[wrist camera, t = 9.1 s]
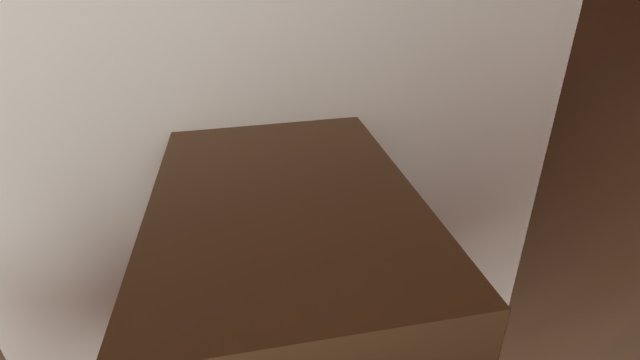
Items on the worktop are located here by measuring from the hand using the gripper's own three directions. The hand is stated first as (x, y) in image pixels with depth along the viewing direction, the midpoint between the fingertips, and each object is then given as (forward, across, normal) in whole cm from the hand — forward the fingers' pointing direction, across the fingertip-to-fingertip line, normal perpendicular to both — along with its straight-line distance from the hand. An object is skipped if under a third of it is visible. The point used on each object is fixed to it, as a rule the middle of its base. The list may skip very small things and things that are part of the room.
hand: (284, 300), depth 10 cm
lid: (+2, 0, 0) cm, 2 cm away
